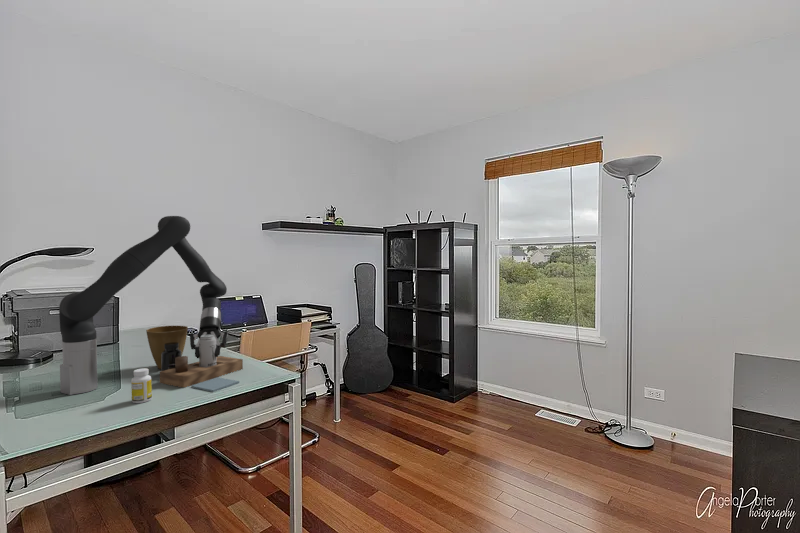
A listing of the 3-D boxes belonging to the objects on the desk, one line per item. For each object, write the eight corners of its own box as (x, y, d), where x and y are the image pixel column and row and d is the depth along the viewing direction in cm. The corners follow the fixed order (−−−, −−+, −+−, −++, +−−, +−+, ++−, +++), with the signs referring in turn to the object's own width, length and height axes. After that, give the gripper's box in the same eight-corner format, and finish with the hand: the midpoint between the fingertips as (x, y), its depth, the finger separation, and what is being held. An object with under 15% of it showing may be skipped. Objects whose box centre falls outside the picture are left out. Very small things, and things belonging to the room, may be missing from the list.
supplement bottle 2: (172, 377, 154) (172, 345, 154) (157, 376, 156) (156, 344, 155) (185, 372, 161) (185, 341, 161) (170, 371, 162) (170, 341, 162)
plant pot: (138, 370, 164) (137, 330, 163) (169, 361, 178) (168, 324, 178) (166, 373, 159) (165, 332, 159) (196, 363, 173) (196, 326, 173)
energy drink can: (212, 376, 155) (211, 337, 154) (196, 376, 155) (195, 337, 155) (219, 372, 161) (218, 334, 160) (204, 371, 161) (203, 334, 161)
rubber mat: (213, 392, 137) (213, 390, 137) (191, 387, 142) (191, 385, 142) (239, 382, 147) (239, 381, 147) (217, 378, 152) (217, 377, 152)
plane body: (183, 387, 142) (183, 362, 141) (159, 382, 147) (159, 358, 147) (242, 369, 165) (242, 347, 165) (220, 365, 171) (219, 344, 170)
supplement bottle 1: (148, 396, 133) (147, 366, 133) (154, 400, 130) (154, 369, 129) (129, 401, 129) (128, 370, 129) (135, 405, 125) (134, 373, 125)
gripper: (189, 316, 162) (185, 352, 151) (228, 314, 167) (227, 349, 156) (192, 327, 167) (187, 363, 156) (230, 325, 172) (228, 360, 161)
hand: (207, 356), depth 156 cm, fingers closed on energy drink can, 6 cm apart
